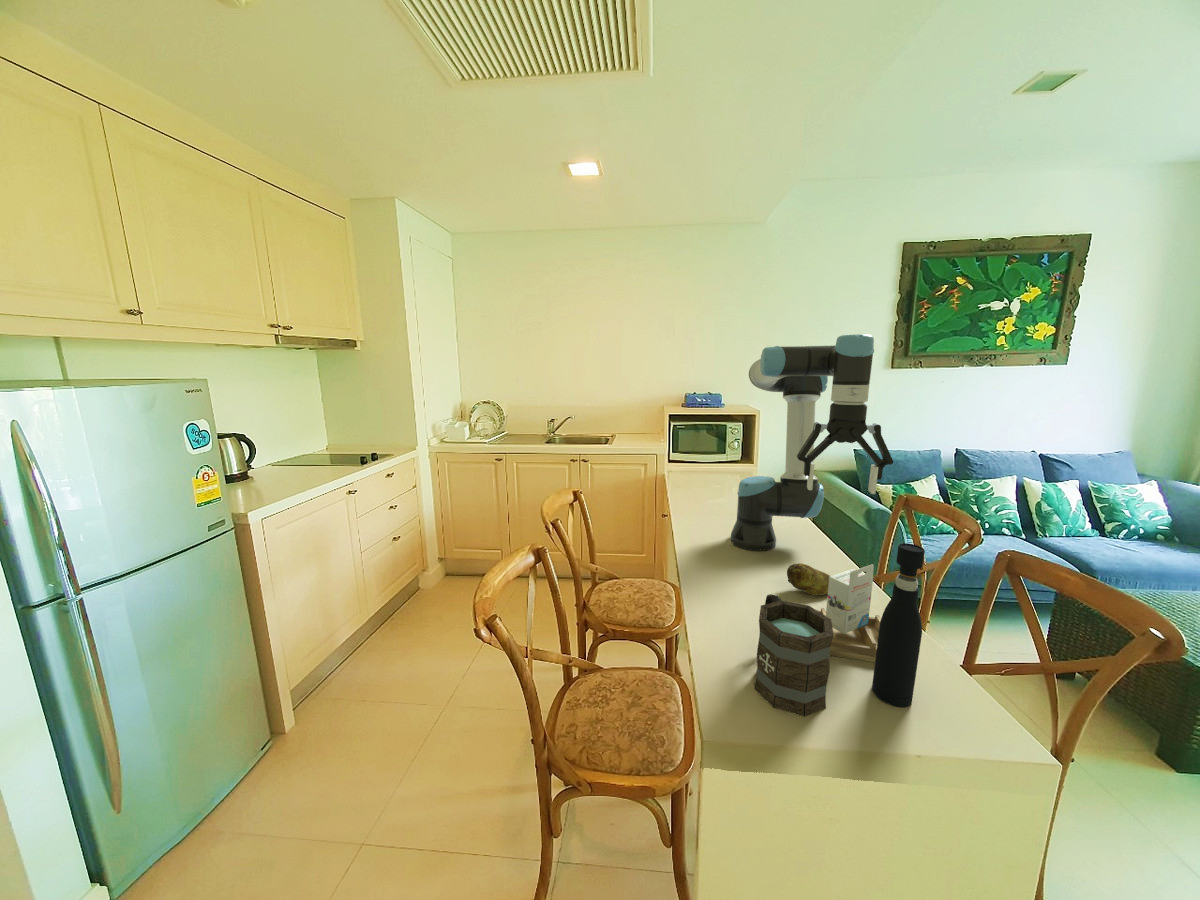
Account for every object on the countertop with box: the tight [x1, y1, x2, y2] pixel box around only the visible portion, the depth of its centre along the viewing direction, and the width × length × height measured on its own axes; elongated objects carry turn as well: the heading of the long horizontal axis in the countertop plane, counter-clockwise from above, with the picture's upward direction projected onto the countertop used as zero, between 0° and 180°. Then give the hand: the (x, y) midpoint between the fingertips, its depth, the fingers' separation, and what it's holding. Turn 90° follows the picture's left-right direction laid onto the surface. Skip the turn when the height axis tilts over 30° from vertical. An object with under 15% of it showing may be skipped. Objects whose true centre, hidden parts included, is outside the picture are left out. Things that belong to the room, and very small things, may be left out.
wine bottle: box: [871, 542, 926, 708], centre depth 80 cm, size 6×6×30 cm
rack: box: [816, 607, 882, 663], centre depth 99 cm, size 13×20×4 cm, turn 74°
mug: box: [754, 593, 833, 718], centre depth 86 cm, size 20×14×15 cm
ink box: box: [825, 563, 874, 634], centre depth 97 cm, size 8×5×15 cm, turn 117°
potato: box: [786, 563, 831, 596], centre depth 119 cm, size 8×13×8 cm, turn 75°
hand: (840, 490), depth 106 cm, fingers open, 13 cm apart
